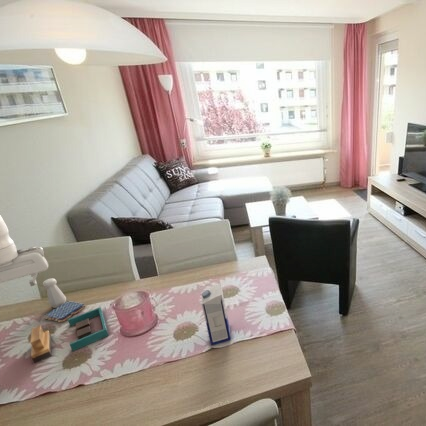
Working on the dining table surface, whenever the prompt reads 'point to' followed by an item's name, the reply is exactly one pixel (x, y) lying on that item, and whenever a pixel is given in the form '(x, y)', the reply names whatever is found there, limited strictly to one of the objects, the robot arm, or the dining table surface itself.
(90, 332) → the chip
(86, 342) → the corral
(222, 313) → the milk carton
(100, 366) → the dining table surface
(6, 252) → the robot arm
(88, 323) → the chip
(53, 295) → the salt shaker
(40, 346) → the brush
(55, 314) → the woven mat
